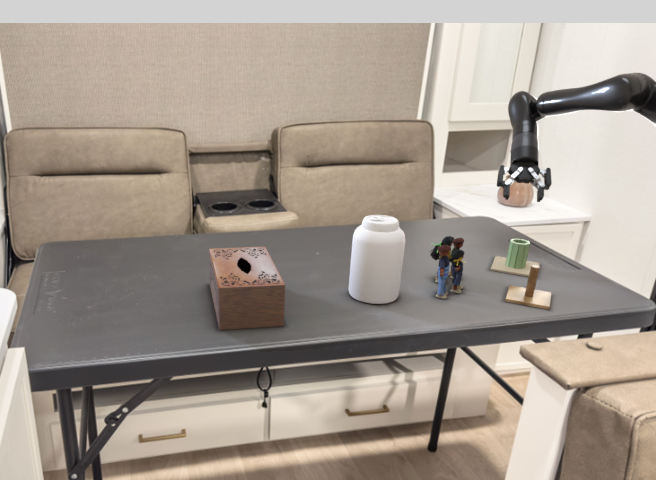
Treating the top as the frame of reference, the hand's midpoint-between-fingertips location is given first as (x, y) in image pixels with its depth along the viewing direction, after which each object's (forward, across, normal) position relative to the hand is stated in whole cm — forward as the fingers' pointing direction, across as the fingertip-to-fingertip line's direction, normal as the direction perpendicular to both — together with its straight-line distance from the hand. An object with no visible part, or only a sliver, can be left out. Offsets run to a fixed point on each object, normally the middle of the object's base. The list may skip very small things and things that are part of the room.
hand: (523, 199), depth 166 cm
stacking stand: (+34, 0, -9) cm, 35 cm away
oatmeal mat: (+18, 0, +7) cm, 20 cm away
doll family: (+33, -20, -7) cm, 39 cm away
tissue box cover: (+51, -68, -25) cm, 88 cm away
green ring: (+18, 0, +7) cm, 19 cm away
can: (+40, -38, -15) cm, 58 cm away
